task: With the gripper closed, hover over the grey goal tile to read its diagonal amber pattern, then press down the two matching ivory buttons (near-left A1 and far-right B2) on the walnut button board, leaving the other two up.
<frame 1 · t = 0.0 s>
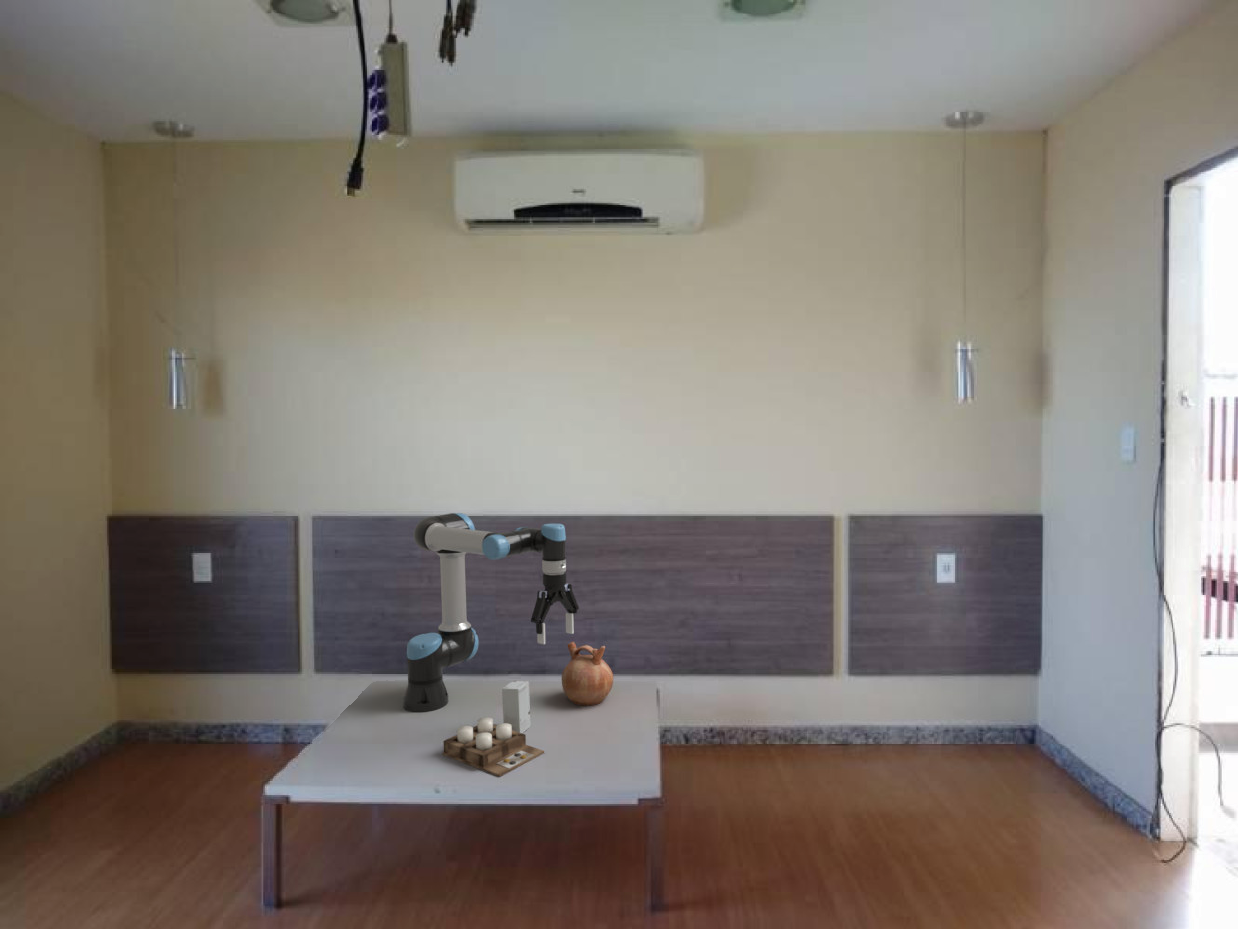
hand: (556, 638, 242), 28 cm above the table, fingers open, 13 cm apart
board: (493, 753, 223), on the table
jug: (588, 699, 264), on the table
button B1: (483, 742, 219), point 5 cm above the table, slide at 0.0 cm
button B2: (503, 733, 225), point 5 cm above the table, slide at 0.0 cm
skincare box: (517, 731, 239), on the table
button A2: (485, 726, 230), point 5 cm above the table, slide at 0.0 cm
button A1: (465, 735, 224), point 5 cm above the table, slide at 0.0 cm
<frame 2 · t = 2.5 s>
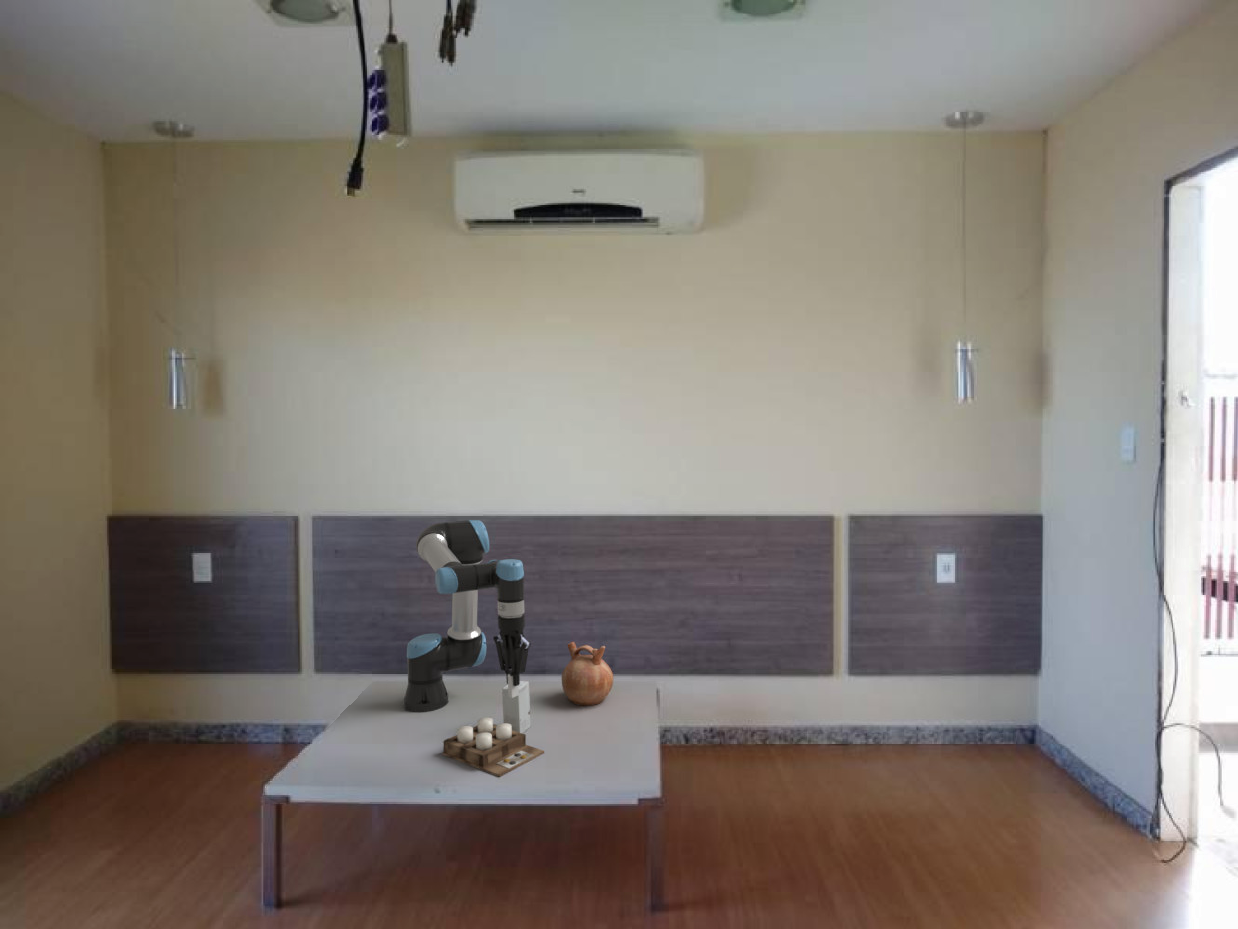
hand: (513, 695, 216), 19 cm above the table, fingers closed
nothing on the table moved.
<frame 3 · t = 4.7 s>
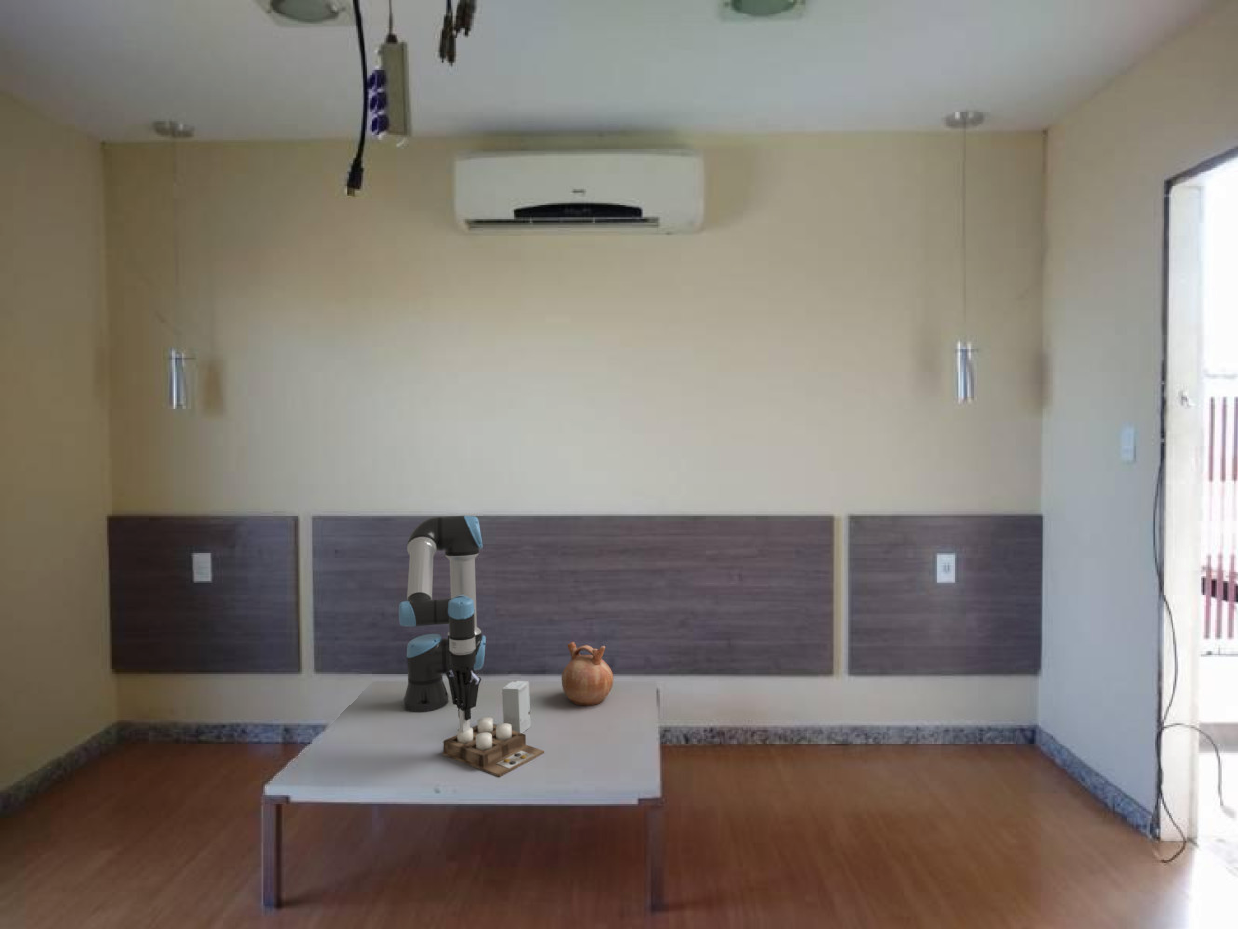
hand: (465, 729, 223), 7 cm above the table, fingers closed
button A1: (465, 736, 224), point 5 cm above the table, slide at 0.3 cm, touching gripper
everything else where it was.
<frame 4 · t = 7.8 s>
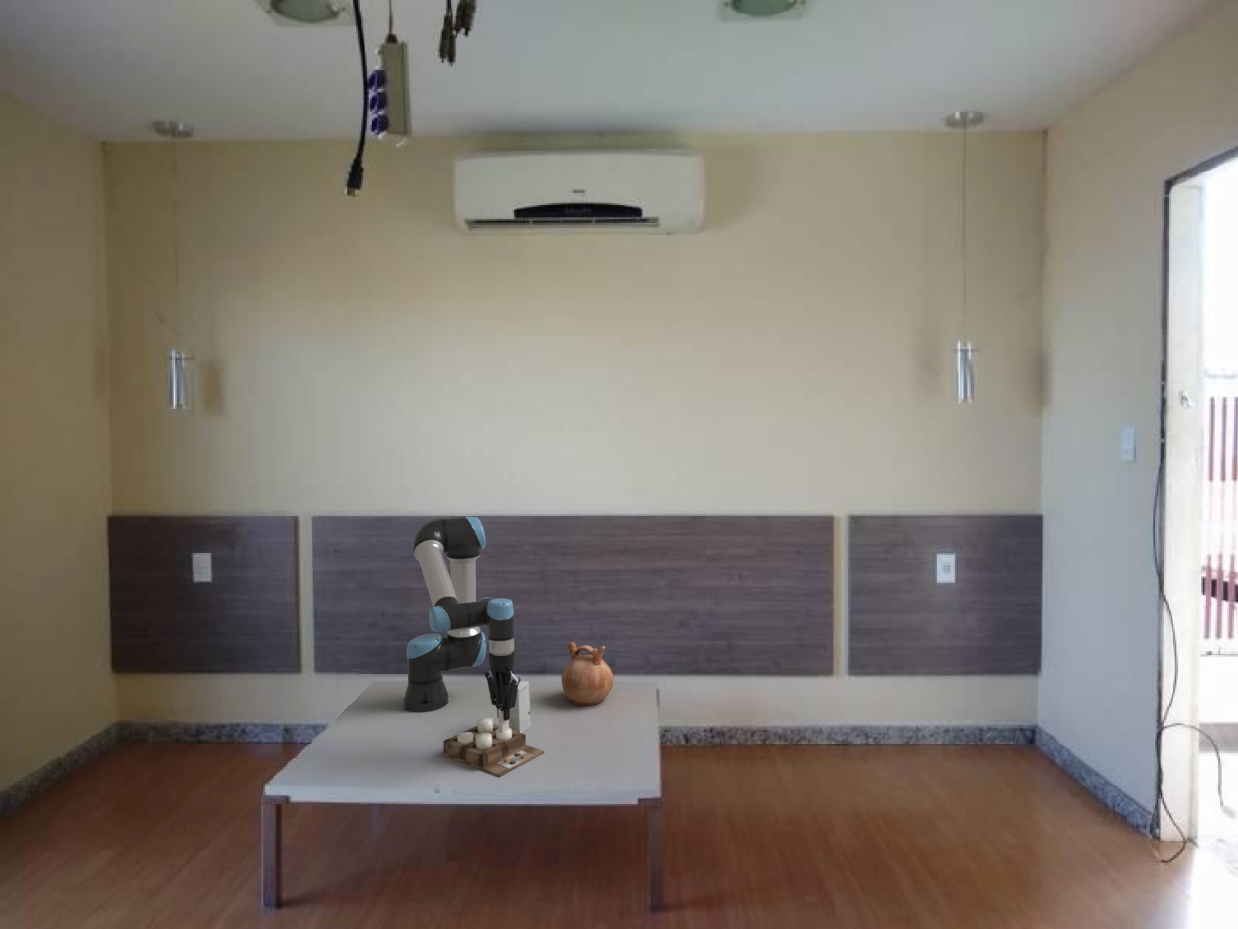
hand: (503, 729, 225), 6 cm above the table, fingers closed
button B2: (504, 737, 225), point 4 cm above the table, slide at 1.2 cm, touching gripper
button A1: (465, 741, 224), point 3 cm above the table, slide at 1.8 cm
everything else where it was.
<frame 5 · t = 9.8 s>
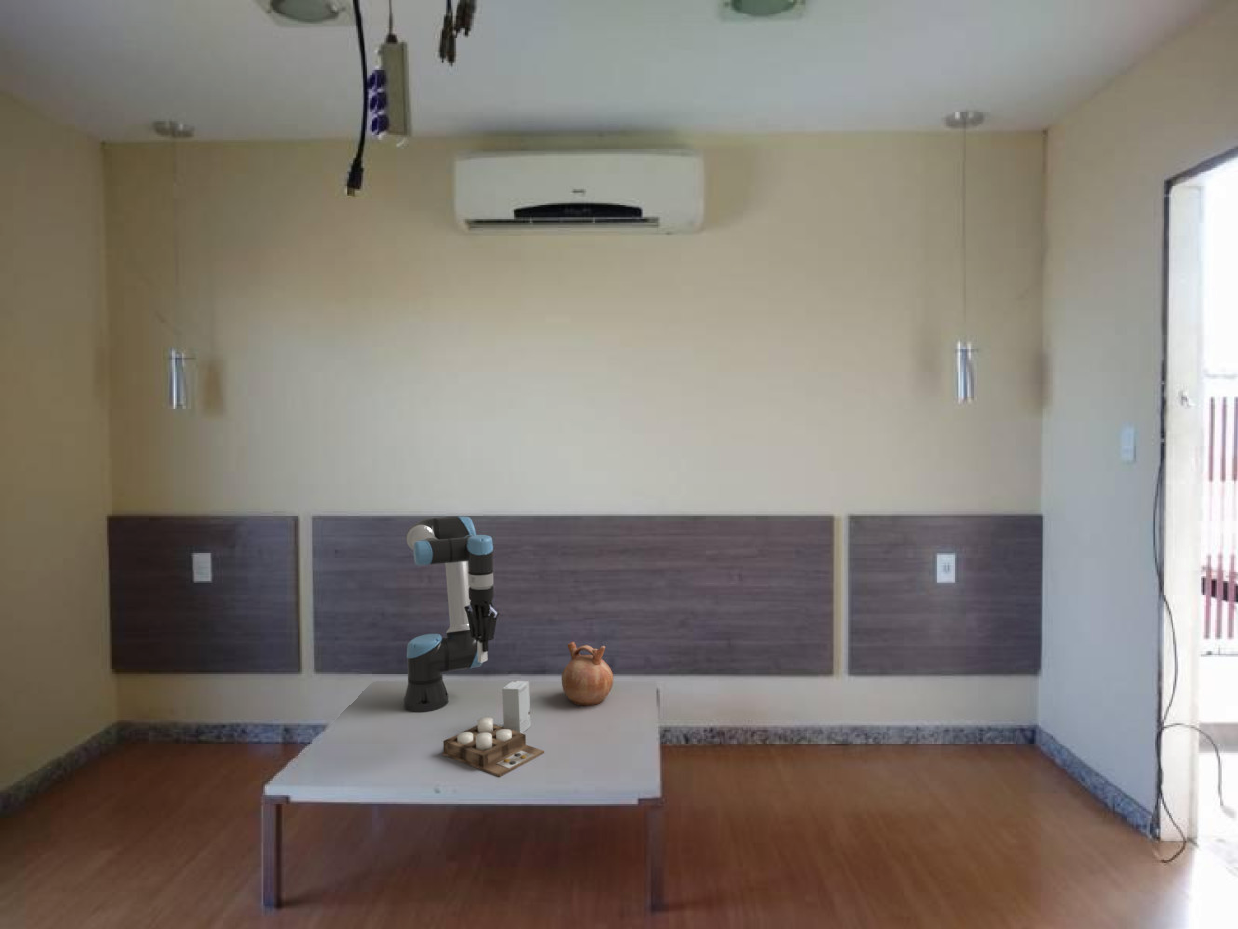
hand: (482, 661, 233), 24 cm above the table, fingers closed
button B2: (504, 738, 225), point 3 cm above the table, slide at 1.8 cm
everything else where it was.
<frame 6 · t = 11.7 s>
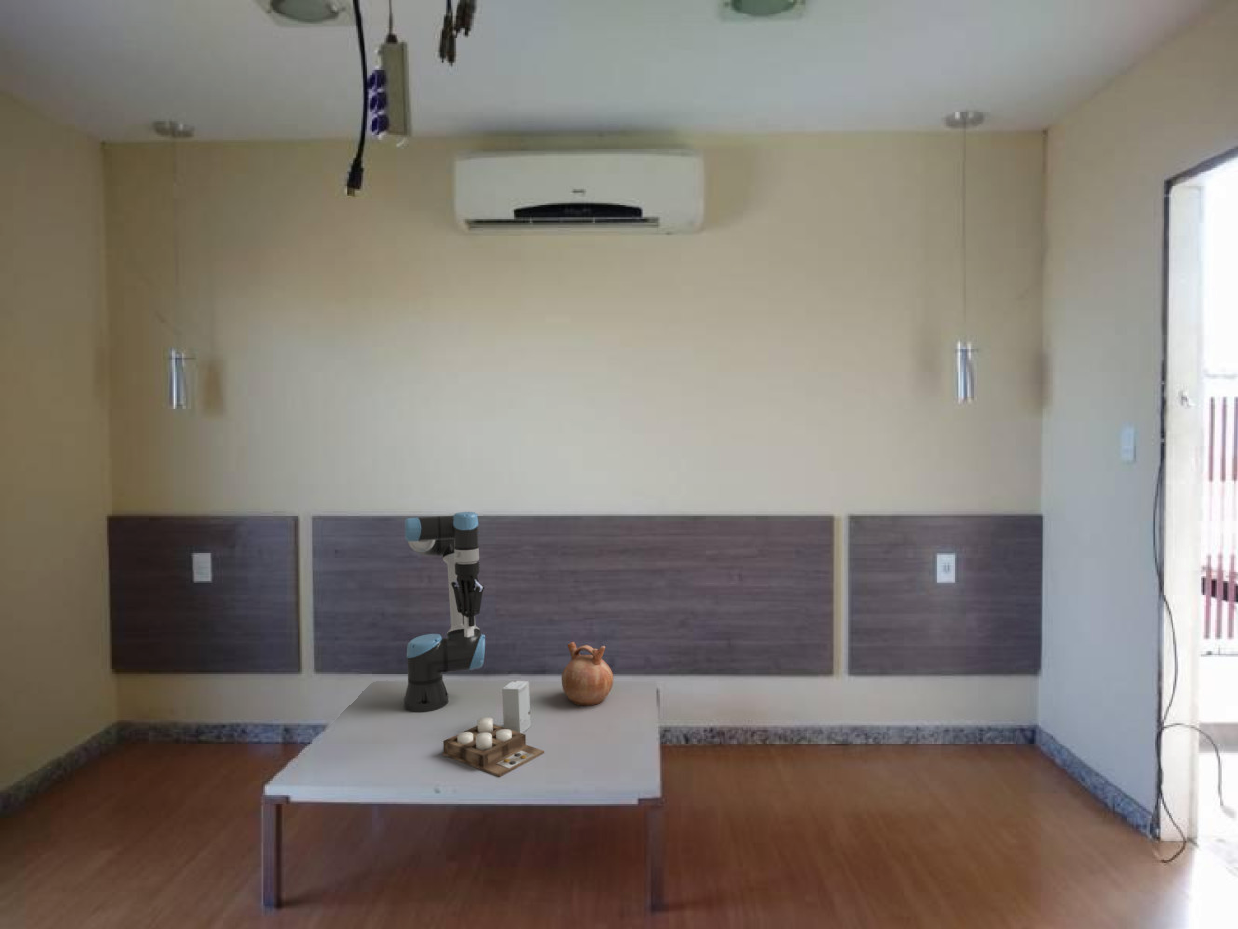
hand: (469, 635, 238), 30 cm above the table, fingers closed
nothing on the table moved.
at the end: button A1 slide at 1.8 cm; button B2 slide at 1.8 cm; button B1 slide at 0.0 cm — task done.
